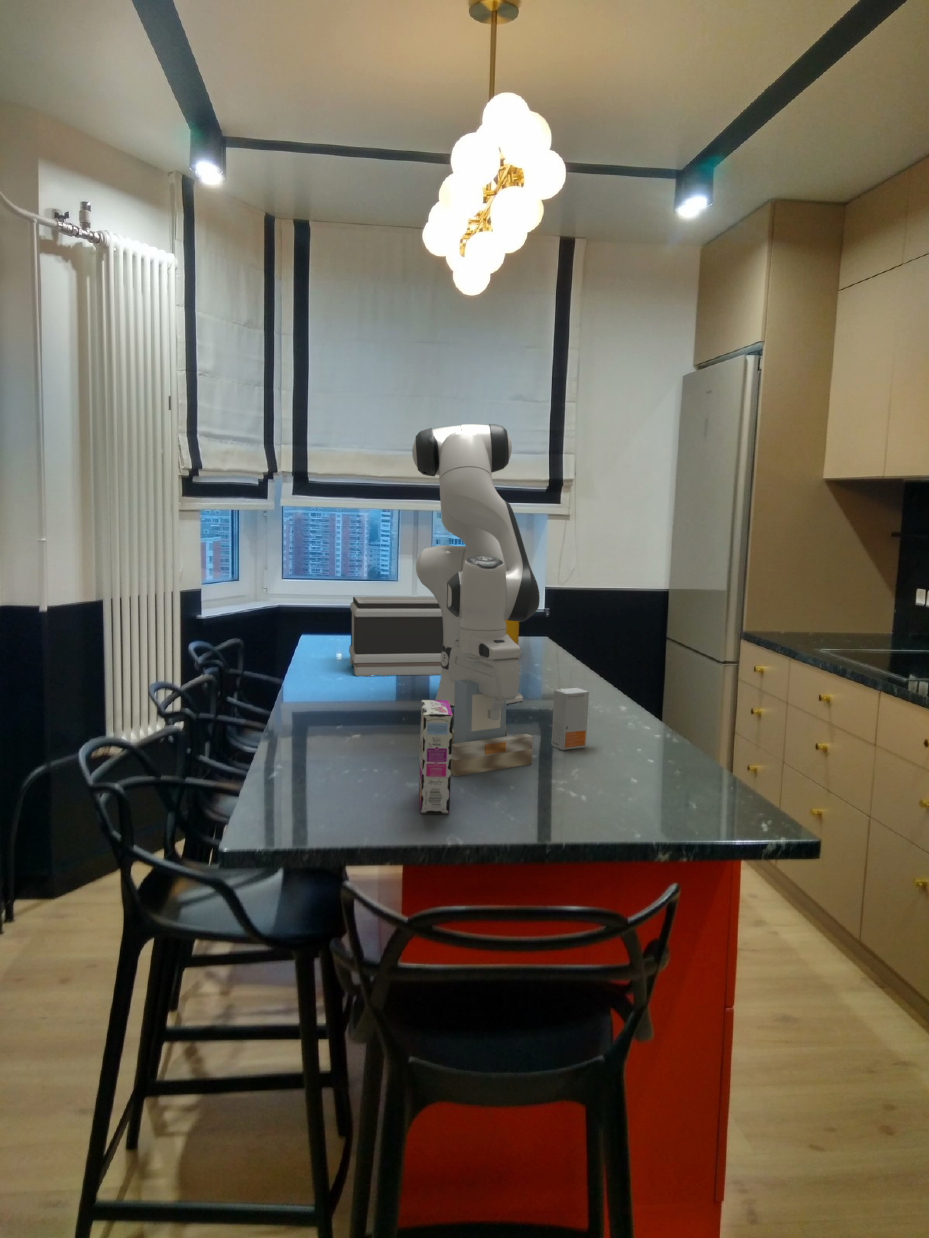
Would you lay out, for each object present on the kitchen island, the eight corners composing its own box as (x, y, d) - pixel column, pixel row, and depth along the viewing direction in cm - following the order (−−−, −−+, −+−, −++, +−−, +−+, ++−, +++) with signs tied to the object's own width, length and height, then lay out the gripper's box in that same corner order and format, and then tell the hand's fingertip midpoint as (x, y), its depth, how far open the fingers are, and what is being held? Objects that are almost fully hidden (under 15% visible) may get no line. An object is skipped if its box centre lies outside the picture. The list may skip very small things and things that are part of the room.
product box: (453, 746, 166) (454, 680, 164) (492, 741, 170) (494, 676, 168) (465, 752, 162) (467, 685, 160) (505, 747, 166) (507, 681, 164)
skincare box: (562, 751, 175) (565, 693, 174) (551, 745, 179) (553, 689, 177) (587, 747, 178) (589, 691, 176) (575, 742, 182) (577, 687, 180)
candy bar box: (451, 814, 138) (453, 714, 136) (420, 814, 138) (422, 714, 135) (447, 791, 149) (449, 698, 147) (418, 791, 149) (420, 698, 146)
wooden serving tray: (500, 749, 175) (501, 723, 174) (532, 764, 166) (533, 736, 165) (426, 760, 167) (427, 732, 166) (455, 776, 157) (456, 747, 156)
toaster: (471, 675, 251) (473, 603, 248) (353, 677, 243) (354, 603, 240) (458, 663, 268) (460, 596, 266) (348, 665, 261) (349, 596, 258)
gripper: (441, 635, 170) (439, 703, 172) (497, 652, 153) (494, 727, 155) (468, 633, 174) (466, 700, 175) (526, 649, 156) (523, 724, 158)
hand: (480, 713), depth 165 cm, fingers open, 8 cm apart
